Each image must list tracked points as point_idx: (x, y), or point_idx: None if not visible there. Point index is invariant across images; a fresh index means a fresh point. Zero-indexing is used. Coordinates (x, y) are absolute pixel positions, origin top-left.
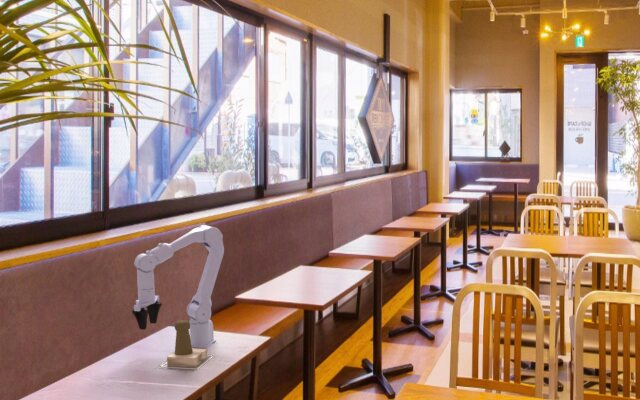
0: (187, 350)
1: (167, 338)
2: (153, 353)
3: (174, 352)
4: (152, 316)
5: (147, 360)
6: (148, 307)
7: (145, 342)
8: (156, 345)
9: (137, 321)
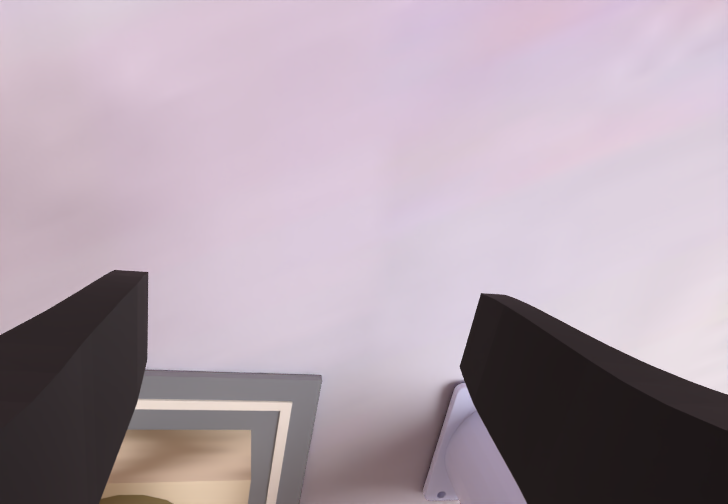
0: None
1: (704, 173)
2: (333, 200)
3: (117, 490)
4: (529, 397)
5: (143, 219)
6: (697, 478)
7: (650, 9)
8: (544, 147)
9: (7, 337)
